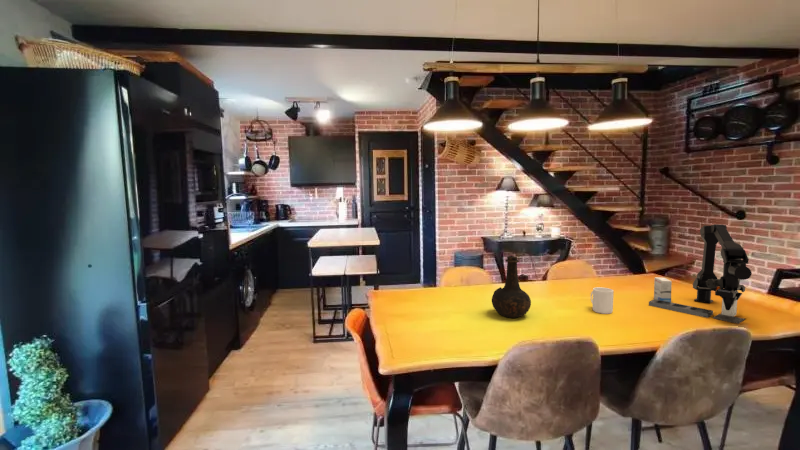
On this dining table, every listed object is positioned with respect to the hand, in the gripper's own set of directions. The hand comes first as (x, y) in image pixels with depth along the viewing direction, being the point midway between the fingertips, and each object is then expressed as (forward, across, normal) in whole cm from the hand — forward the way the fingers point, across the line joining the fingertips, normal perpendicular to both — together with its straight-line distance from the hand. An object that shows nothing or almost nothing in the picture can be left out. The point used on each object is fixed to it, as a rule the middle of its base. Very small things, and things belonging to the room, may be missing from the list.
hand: (729, 309), depth 171 cm
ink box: (+5, -8, -29) cm, 30 cm away
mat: (+4, 0, 0) cm, 4 cm away
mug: (+5, +32, -41) cm, 52 cm away
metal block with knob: (+2, 0, 0) cm, 2 cm away
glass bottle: (+5, +71, -63) cm, 95 cm away
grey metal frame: (+4, +2, -18) cm, 19 cm away
